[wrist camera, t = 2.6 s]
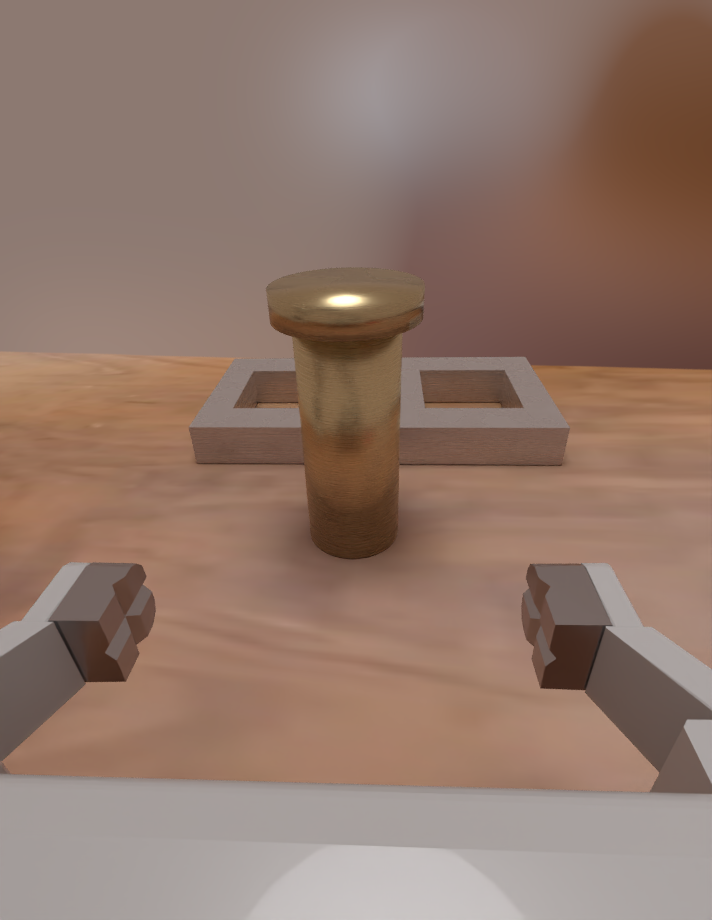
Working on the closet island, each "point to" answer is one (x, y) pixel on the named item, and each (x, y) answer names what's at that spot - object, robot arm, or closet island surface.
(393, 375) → the brass capped peg
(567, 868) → the robot arm
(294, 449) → the plate
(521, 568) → the closet island surface
